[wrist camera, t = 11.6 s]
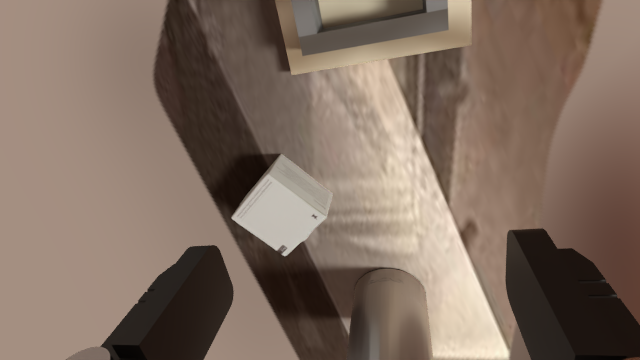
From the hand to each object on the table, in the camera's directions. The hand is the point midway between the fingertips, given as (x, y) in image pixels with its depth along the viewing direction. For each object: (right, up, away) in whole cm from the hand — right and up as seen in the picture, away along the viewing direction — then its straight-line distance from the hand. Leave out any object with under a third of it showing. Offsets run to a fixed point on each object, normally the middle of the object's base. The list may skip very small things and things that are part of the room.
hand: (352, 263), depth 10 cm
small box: (-5, +1, +33) cm, 34 cm away
